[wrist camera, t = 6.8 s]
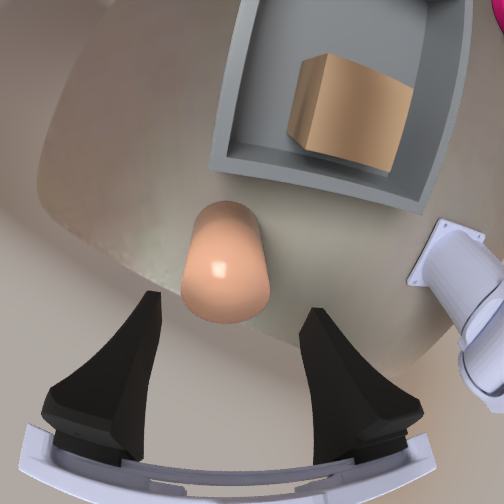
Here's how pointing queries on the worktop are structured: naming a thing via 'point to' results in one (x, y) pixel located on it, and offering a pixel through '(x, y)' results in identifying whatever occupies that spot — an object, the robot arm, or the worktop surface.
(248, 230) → the terracotta cylinder
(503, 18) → the pepper mill
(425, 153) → the gray tote
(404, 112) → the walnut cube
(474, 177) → the worktop surface
